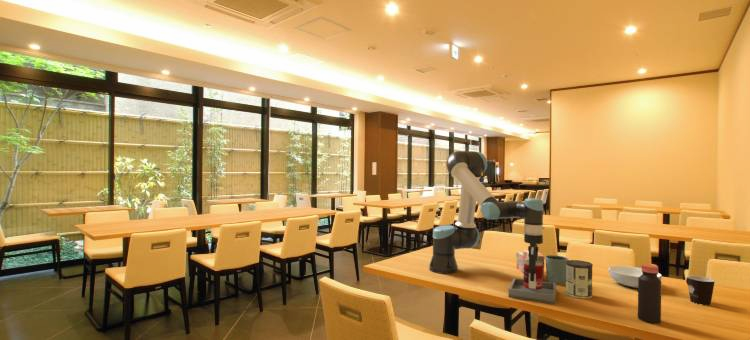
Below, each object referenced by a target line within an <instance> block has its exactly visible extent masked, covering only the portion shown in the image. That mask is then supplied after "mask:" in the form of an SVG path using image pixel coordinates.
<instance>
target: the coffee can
mask: <svg viewBox="0 0 750 340" xmlns="http://www.w3.org/2000/svg"><path fill="white" fill-rule="evenodd" d="M593 266H594V264H593V263H592V262H589V261H585V260H578V259H570V260H569V259H568V261H566V284H565V287H566V289H565V293H566V294H567V295H568V296H569V297H573V298H576V299H585V300H586V299H587V300H588V299H591V298H593Z"/></svg>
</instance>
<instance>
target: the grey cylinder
mask: <svg viewBox="0 0 750 340" xmlns="http://www.w3.org/2000/svg"><path fill="white" fill-rule="evenodd" d="M544 260H545V269H546V271H545V274H546V282H548V283H555V284H556V285H559V286H560V285H561V286H562V285H566V261H568V260H569V257H565V256H562V255H556V254H555V255H552V254H551V255H550V254H549V255H544Z"/></svg>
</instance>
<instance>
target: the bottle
mask: <svg viewBox="0 0 750 340" xmlns="http://www.w3.org/2000/svg"><path fill="white" fill-rule="evenodd" d="M641 268H642V272H643V274H642V275H641V276H640V277H639V278H638V288H637V318H638V319H639V320H640V321H641V322H644V321H645V322H646V323H649V324H654V323H657V324H660V323H661V322H662V279H661V280H660V279H659V278H658V277H657V274H658V273H659V266H658V265H654V264H651V263H650V264H649V263H642V264H641Z"/></svg>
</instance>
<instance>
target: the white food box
mask: <svg viewBox="0 0 750 340" xmlns="http://www.w3.org/2000/svg"><path fill="white" fill-rule="evenodd" d="M526 260H529V251H528V249H527V250H526V249H522V251H516V269H517V270H518V271H519V272H521V273H522V274H523V275H524V261H526ZM537 261H540V262H542V263H543V281H544V280H545V255H543V254H542V253H540V252H538V256H537Z"/></svg>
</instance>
